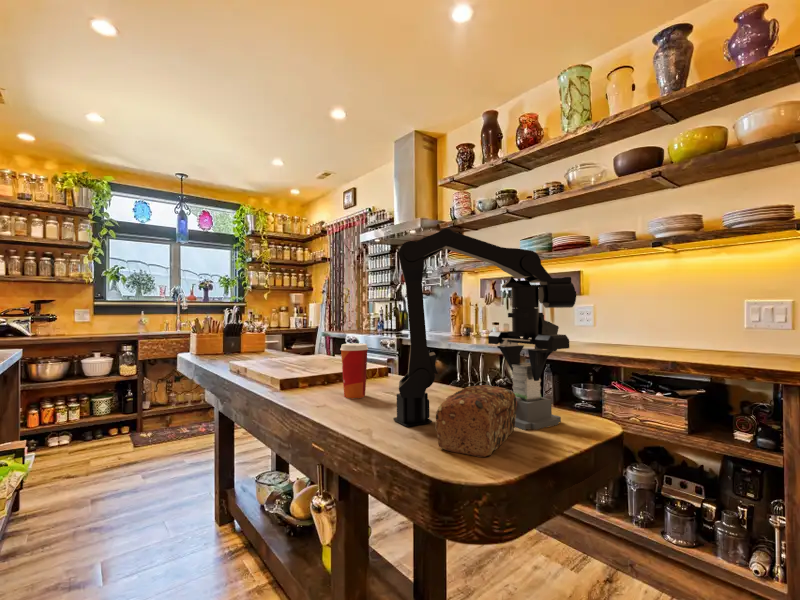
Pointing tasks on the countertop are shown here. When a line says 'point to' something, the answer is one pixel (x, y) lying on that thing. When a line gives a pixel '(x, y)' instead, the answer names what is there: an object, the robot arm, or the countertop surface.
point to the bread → (476, 420)
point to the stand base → (535, 414)
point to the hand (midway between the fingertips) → (526, 378)
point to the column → (525, 383)
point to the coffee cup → (354, 369)
